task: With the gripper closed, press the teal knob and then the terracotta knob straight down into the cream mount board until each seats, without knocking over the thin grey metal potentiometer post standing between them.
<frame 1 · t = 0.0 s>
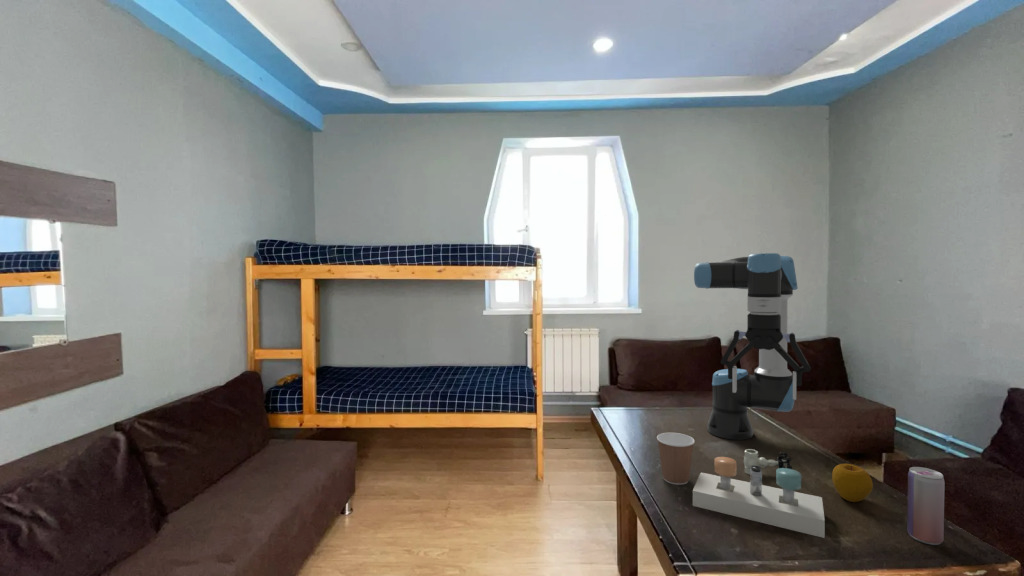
hand: (763, 394, 117), 28 cm above the table, fingers open, 13 cm apart
beverage can: (924, 538, 101), on the table
mount board: (755, 509, 114), on the table
pot post: (755, 493, 114), point 4 cm above the table, touching mount board
valve: (765, 474, 134), on the table
apple: (851, 499, 118), on the table
knob teal: (788, 486, 110), point 8 cm above the table, slide at 0.0 cm
knob terracotta: (725, 474, 118), point 8 cm above the table, slide at 0.0 cm
coffee cup: (675, 480, 131), on the table
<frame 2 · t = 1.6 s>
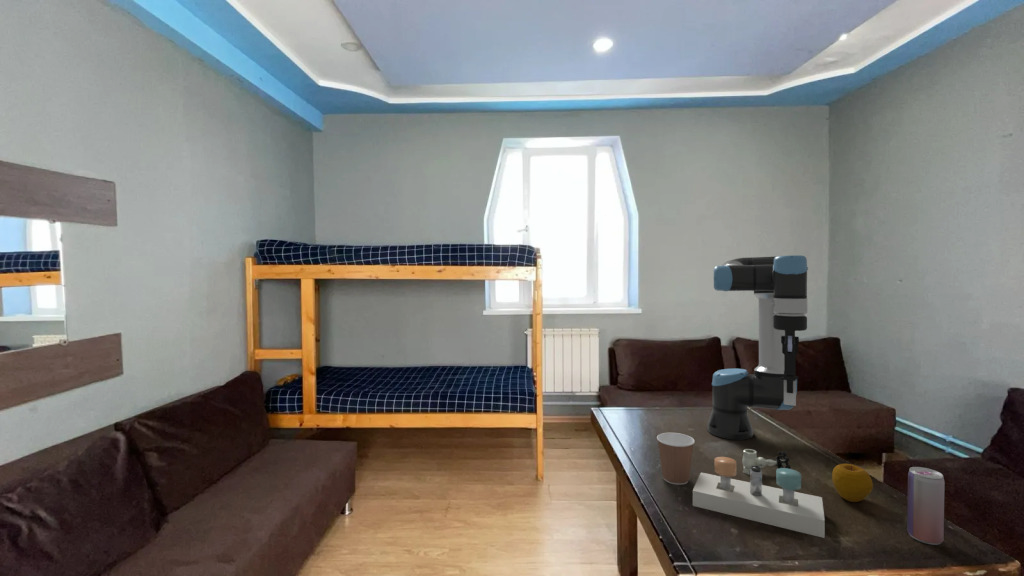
hand: (789, 404, 119), 25 cm above the table, fingers closed
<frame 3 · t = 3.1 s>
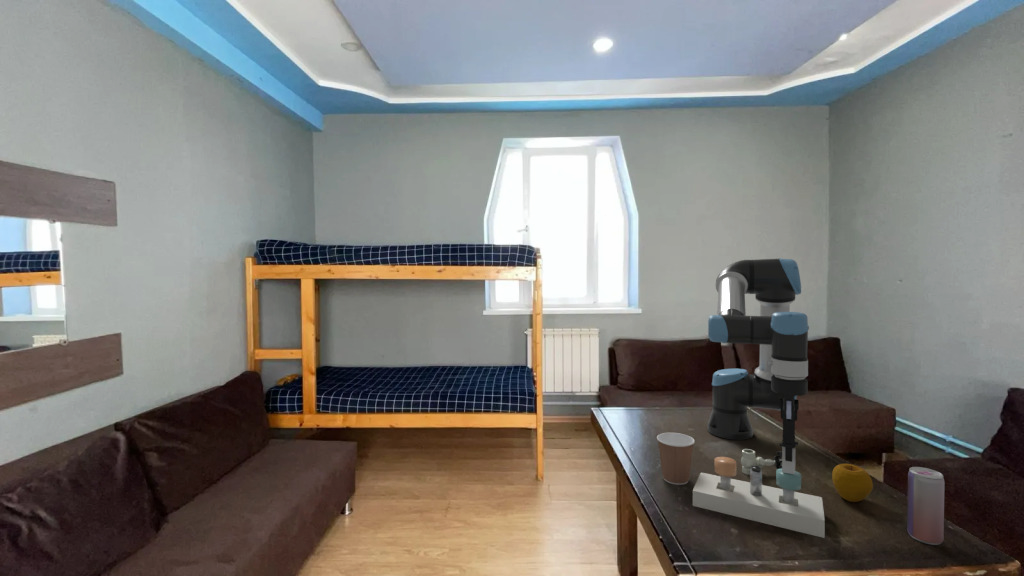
hand: (788, 472, 110), 11 cm above the table, fingers closed
knob teal: (788, 487, 110), point 7 cm above the table, slide at 0.1 cm, touching gripper
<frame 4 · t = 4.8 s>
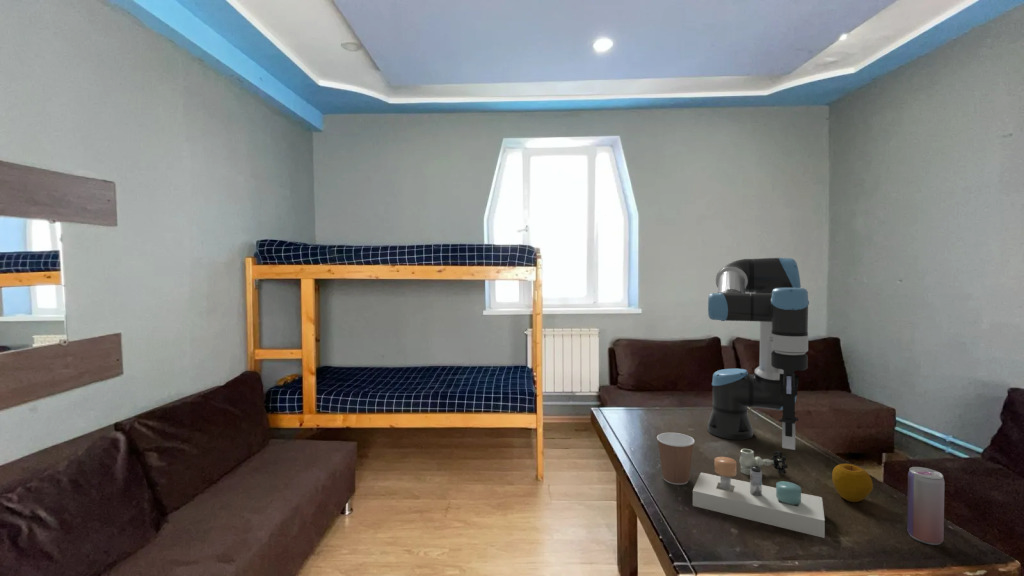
hand: (788, 447, 110), 17 cm above the table, fingers closed
knob teal: (788, 500, 110), point 4 cm above the table, slide at 3.4 cm
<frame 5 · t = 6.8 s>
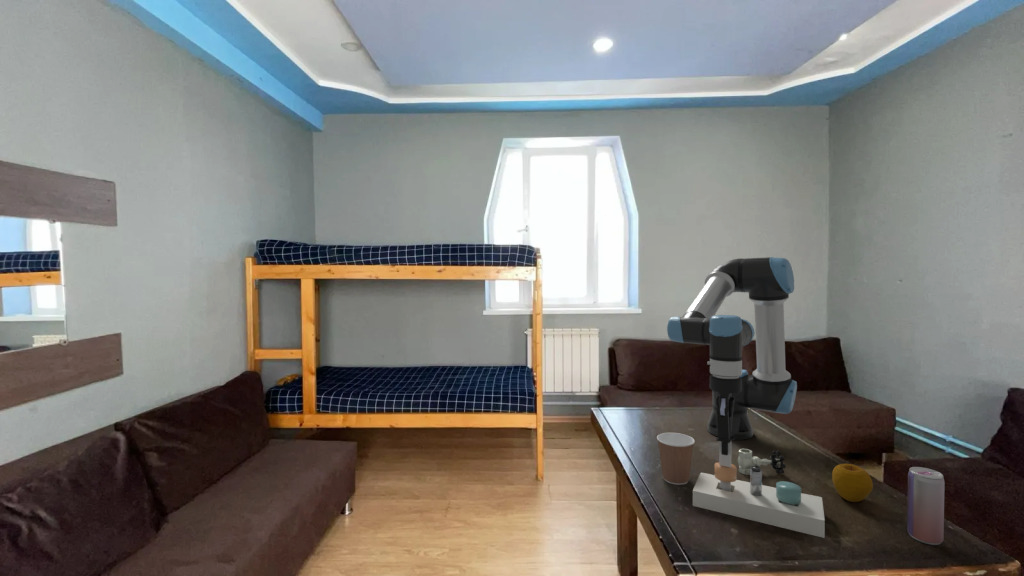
hand: (725, 465, 117), 10 cm above the table, fingers closed
knob terracotta: (725, 479, 118), point 6 cm above the table, slide at 1.4 cm, touching gripper
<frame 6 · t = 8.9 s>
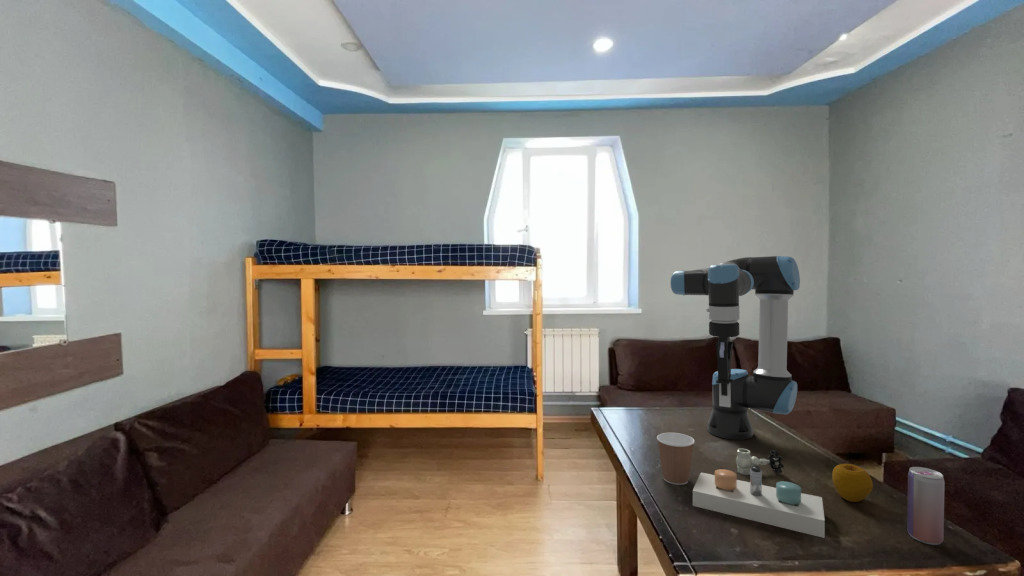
hand: (724, 405, 125), 23 cm above the table, fingers closed
knob terracotta: (725, 486, 118), point 4 cm above the table, slide at 3.4 cm
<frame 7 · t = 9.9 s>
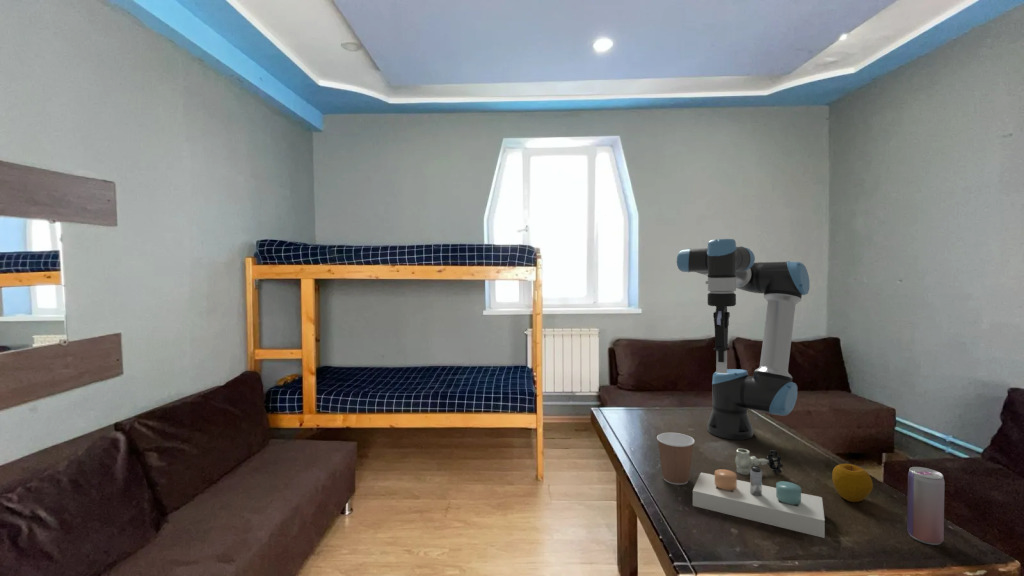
hand: (721, 372, 133), 30 cm above the table, fingers closed
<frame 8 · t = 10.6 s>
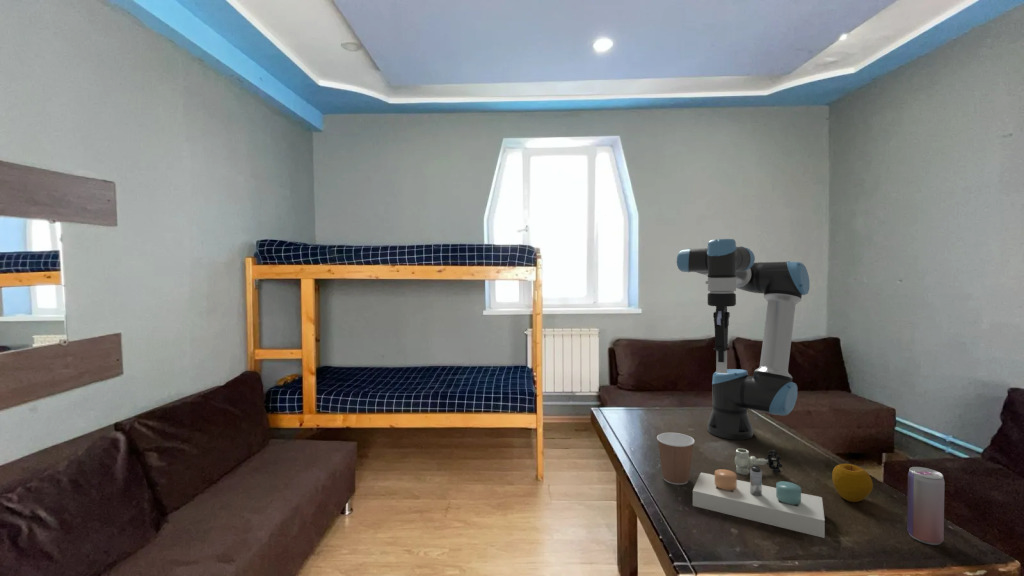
hand: (721, 372, 133), 30 cm above the table, fingers closed
at the end: knob teal slide at 3.4 cm; knob terracotta slide at 3.4 cm; pot post tilted 0° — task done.
